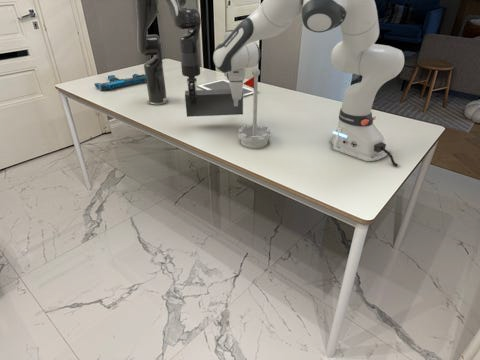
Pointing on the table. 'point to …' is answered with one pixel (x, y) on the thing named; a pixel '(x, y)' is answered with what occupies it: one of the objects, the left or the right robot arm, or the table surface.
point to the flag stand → (254, 121)
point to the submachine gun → (120, 81)
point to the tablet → (224, 87)
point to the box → (213, 103)
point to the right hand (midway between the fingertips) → (235, 102)
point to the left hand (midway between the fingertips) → (193, 102)
